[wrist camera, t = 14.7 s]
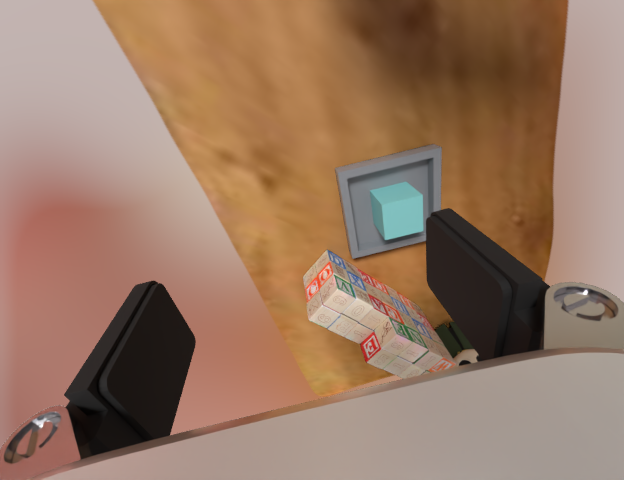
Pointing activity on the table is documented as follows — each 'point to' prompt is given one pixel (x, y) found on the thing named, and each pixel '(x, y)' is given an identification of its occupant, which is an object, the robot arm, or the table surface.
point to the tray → (380, 173)
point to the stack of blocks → (373, 318)
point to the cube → (397, 210)
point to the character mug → (457, 345)
